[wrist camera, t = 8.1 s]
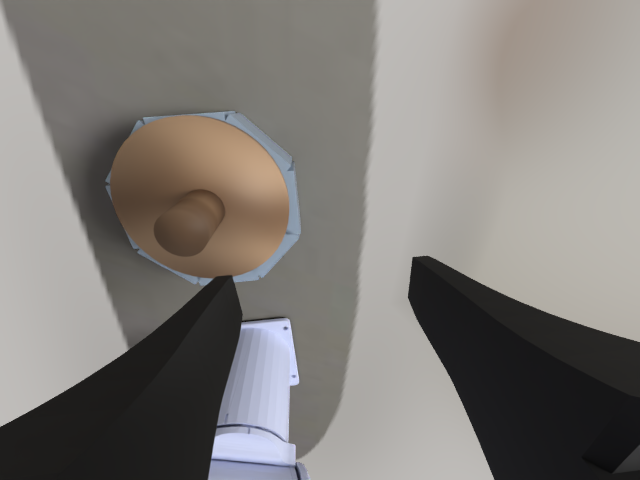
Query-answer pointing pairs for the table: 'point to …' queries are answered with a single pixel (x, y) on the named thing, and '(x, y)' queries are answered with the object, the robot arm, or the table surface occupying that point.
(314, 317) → the table surface
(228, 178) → the lid
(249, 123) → the bowl
